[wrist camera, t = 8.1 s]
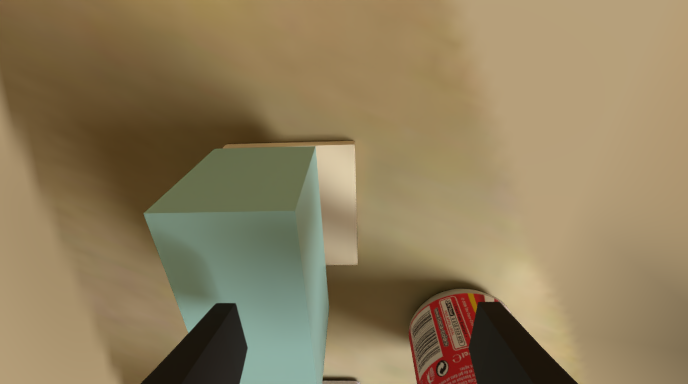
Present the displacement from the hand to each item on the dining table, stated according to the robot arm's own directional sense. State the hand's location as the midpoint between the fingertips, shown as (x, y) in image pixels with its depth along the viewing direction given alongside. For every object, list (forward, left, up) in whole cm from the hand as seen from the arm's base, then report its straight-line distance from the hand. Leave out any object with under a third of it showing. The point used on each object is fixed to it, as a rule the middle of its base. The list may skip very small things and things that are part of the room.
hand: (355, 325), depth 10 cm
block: (-2, +4, -7) cm, 8 cm away
